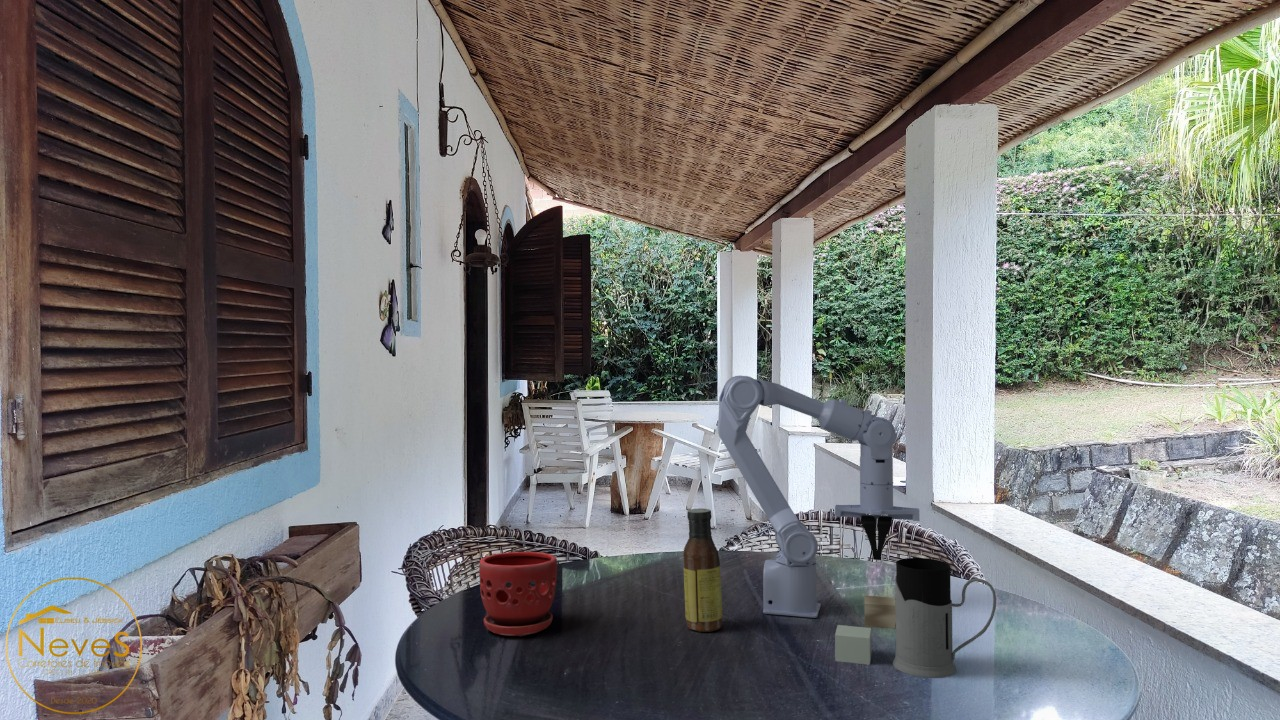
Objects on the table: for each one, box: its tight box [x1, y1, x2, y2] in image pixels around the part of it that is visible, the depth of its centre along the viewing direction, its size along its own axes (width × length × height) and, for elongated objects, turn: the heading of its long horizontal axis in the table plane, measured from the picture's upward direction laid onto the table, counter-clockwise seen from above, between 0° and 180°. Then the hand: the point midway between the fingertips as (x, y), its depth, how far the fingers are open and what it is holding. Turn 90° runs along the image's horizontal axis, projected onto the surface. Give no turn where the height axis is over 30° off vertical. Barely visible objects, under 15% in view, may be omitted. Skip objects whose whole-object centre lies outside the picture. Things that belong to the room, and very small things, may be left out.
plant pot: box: [478, 551, 558, 638], centre depth 136 cm, size 13×13×12 cm
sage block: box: [834, 624, 872, 666], centre depth 121 cm, size 5×5×4 cm
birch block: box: [864, 595, 896, 630], centre depth 137 cm, size 5×5×4 cm
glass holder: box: [892, 557, 997, 679], centre depth 116 cm, size 9×14×15 cm, turn 60°
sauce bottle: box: [682, 507, 723, 633], centre depth 136 cm, size 7×6×20 cm
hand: (877, 558), depth 144 cm, fingers closed
